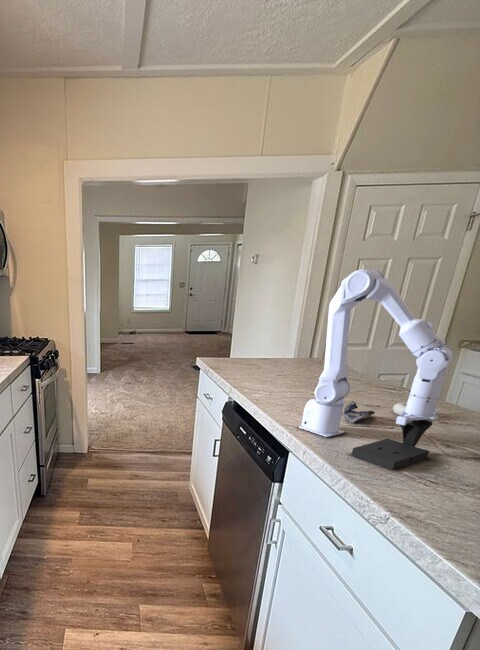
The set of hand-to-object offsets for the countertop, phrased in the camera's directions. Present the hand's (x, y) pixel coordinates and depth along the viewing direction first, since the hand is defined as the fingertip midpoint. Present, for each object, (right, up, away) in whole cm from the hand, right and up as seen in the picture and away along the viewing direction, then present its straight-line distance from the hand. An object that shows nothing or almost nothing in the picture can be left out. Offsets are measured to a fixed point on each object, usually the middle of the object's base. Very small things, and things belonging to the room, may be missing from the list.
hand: (408, 446), depth 104 cm
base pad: (-11, -3, -4) cm, 12 cm away
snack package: (+3, +9, +26) cm, 27 cm away
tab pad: (-4, -2, -1) cm, 4 cm away
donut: (+23, +10, +28) cm, 38 cm away
